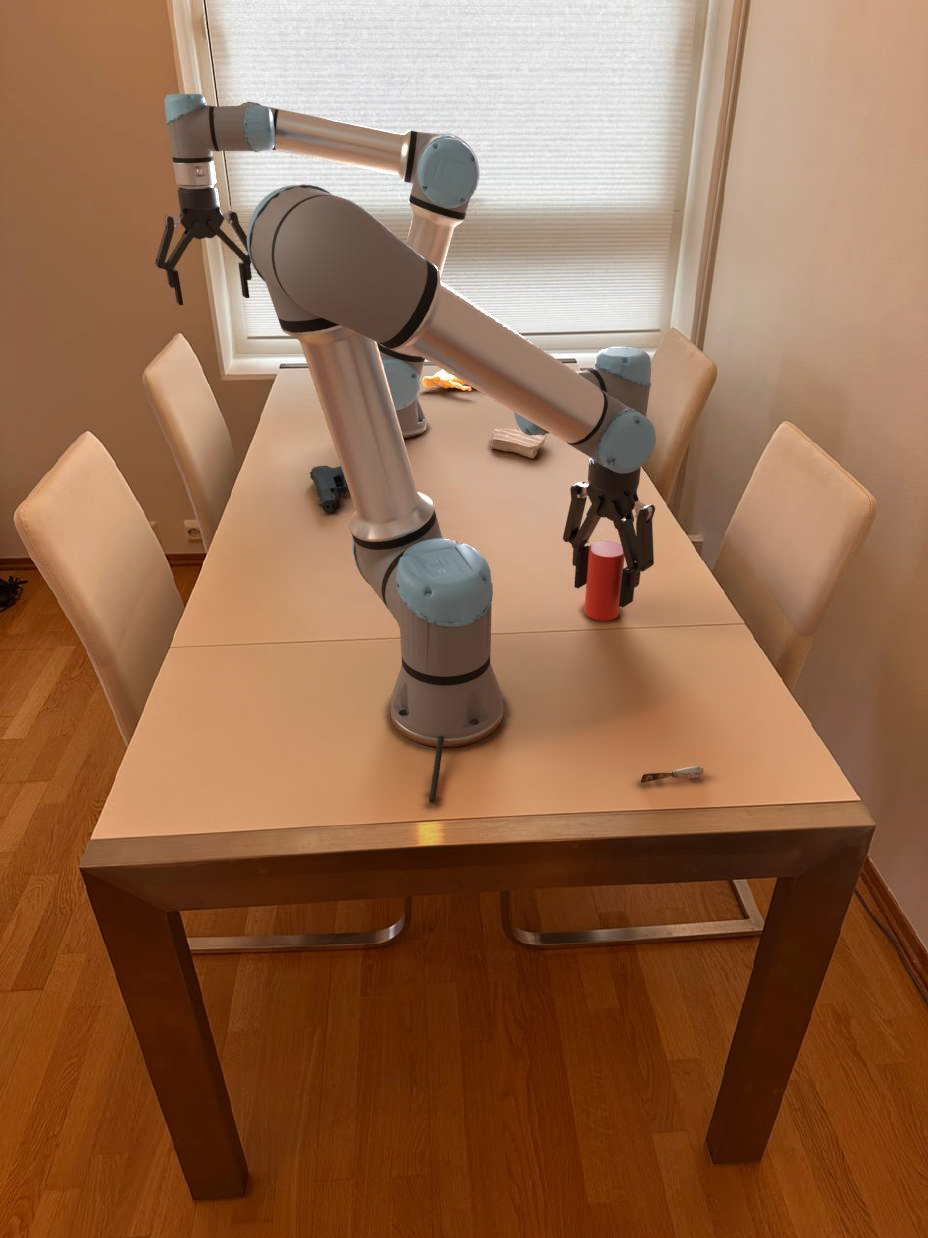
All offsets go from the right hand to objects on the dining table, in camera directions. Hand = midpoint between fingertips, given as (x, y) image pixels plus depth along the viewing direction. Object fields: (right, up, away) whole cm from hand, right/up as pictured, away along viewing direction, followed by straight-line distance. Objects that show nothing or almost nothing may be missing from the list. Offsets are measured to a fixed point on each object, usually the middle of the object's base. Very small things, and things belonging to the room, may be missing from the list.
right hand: (603, 593), depth 141 cm
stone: (-10, +35, +62) cm, 72 cm away
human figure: (-21, +60, +102) cm, 120 cm away
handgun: (-47, +22, +41) cm, 66 cm away
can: (0, -3, +2) cm, 3 cm away
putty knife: (+3, -24, -32) cm, 40 cm away
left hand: (-74, +62, +42) cm, 105 cm away
